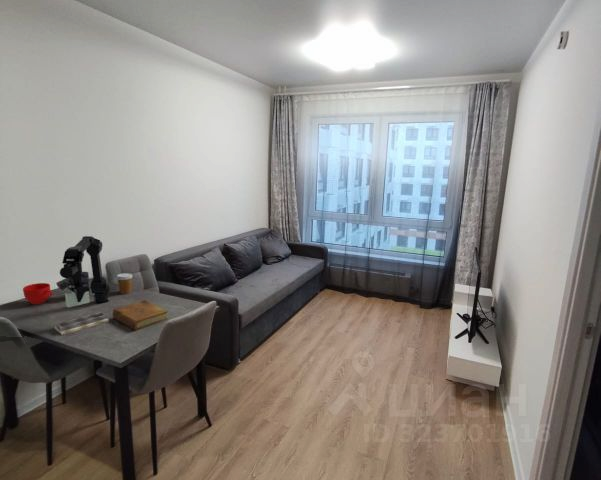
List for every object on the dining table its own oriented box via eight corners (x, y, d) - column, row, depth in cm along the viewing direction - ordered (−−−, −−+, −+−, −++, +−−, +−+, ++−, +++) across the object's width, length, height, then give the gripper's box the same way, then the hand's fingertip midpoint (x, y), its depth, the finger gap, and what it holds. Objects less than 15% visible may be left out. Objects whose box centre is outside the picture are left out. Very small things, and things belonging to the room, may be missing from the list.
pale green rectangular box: (87, 301, 189) (86, 288, 188) (89, 302, 187) (88, 289, 186) (66, 305, 181) (65, 292, 180) (68, 307, 179) (67, 294, 178)
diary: (113, 319, 195) (112, 309, 193) (145, 309, 209) (144, 300, 208) (135, 331, 181) (134, 321, 180) (167, 320, 196) (167, 310, 195)
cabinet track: (100, 315, 197) (100, 310, 196) (108, 321, 191) (108, 316, 190) (55, 328, 180) (54, 323, 179) (62, 334, 174) (61, 329, 173)
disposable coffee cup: (120, 289, 237) (119, 272, 235) (135, 289, 239) (134, 272, 236) (115, 294, 228) (113, 277, 226) (130, 294, 229) (129, 277, 227)
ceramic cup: (43, 308, 203) (41, 292, 201) (18, 305, 206) (16, 288, 204) (62, 300, 215) (60, 285, 213) (39, 297, 218) (37, 282, 216)
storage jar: (73, 294, 225) (71, 272, 222) (91, 293, 229) (89, 271, 226) (71, 300, 216) (68, 276, 213) (89, 298, 221) (87, 275, 218)
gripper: (51, 271, 181) (54, 300, 184) (64, 279, 169) (66, 310, 172) (75, 267, 189) (77, 295, 192) (89, 275, 178) (91, 304, 180)
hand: (78, 301), depth 184 cm, fingers closed on pale green rectangular box, 3 cm apart
